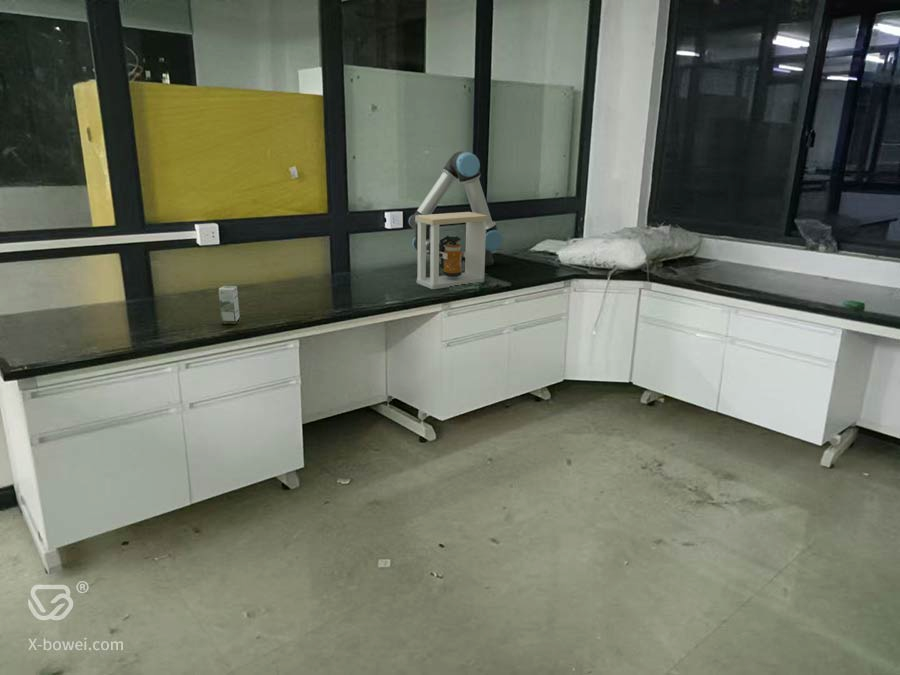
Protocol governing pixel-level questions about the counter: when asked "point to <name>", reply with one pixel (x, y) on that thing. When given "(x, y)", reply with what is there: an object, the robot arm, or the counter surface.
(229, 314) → the syrup box
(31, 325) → the counter surface
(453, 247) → the canister
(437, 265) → the under-counter shelf
